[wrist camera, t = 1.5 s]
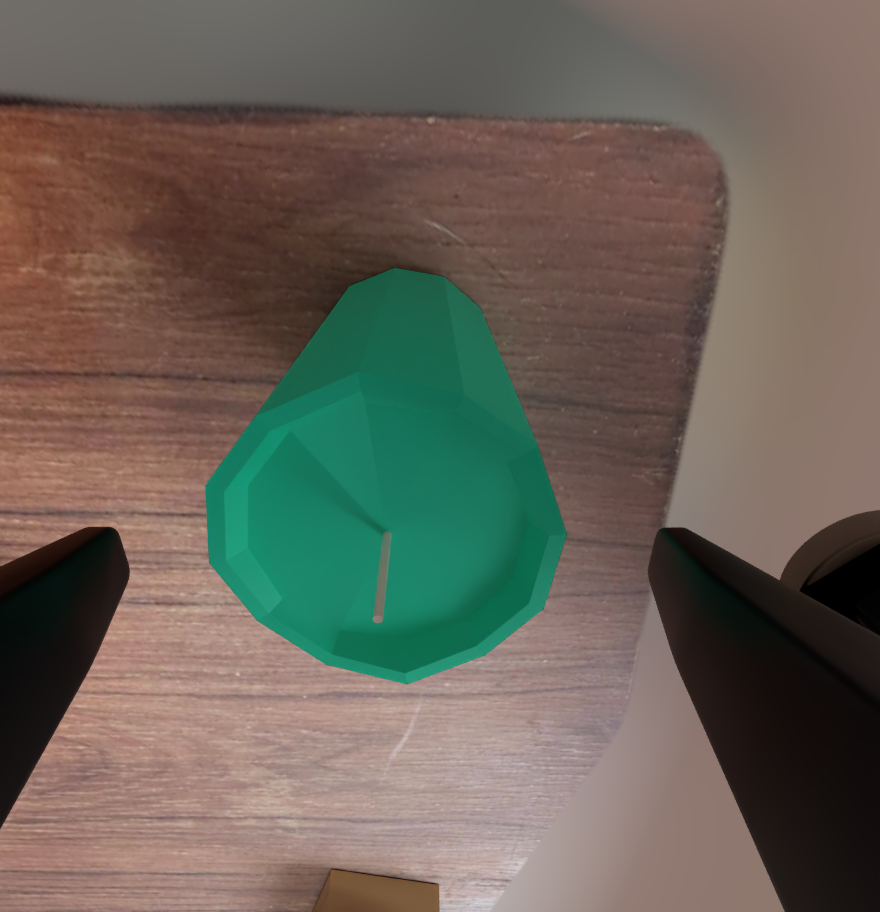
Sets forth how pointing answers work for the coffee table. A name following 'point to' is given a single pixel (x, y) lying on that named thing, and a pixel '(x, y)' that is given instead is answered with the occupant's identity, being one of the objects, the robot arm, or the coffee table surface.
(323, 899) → the maple block
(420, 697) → the coffee table surface
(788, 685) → the robot arm
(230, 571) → the candle
